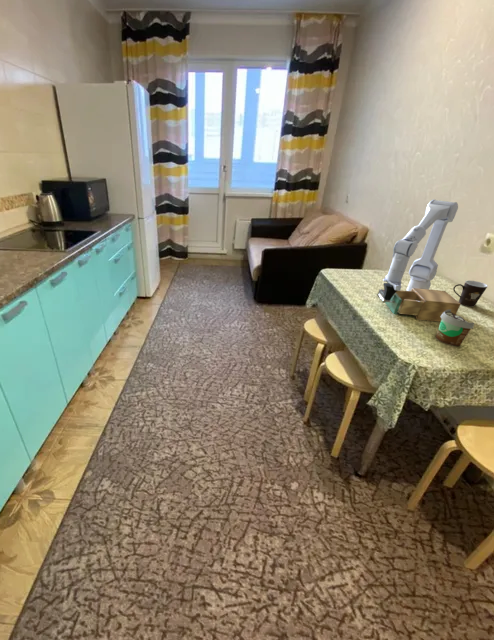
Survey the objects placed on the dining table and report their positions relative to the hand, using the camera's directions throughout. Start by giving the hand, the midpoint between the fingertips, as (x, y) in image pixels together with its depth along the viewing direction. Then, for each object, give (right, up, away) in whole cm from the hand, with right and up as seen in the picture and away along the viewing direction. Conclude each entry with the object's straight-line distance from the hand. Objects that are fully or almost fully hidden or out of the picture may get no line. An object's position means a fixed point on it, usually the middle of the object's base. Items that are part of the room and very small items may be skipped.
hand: (386, 300), depth 144 cm
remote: (+7, +3, +13) cm, 15 cm away
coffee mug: (+43, +1, +13) cm, 45 cm away
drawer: (+6, -4, +1) cm, 7 cm away
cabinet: (+18, -6, 0) cm, 19 cm away
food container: (+10, -18, -20) cm, 29 cm away
